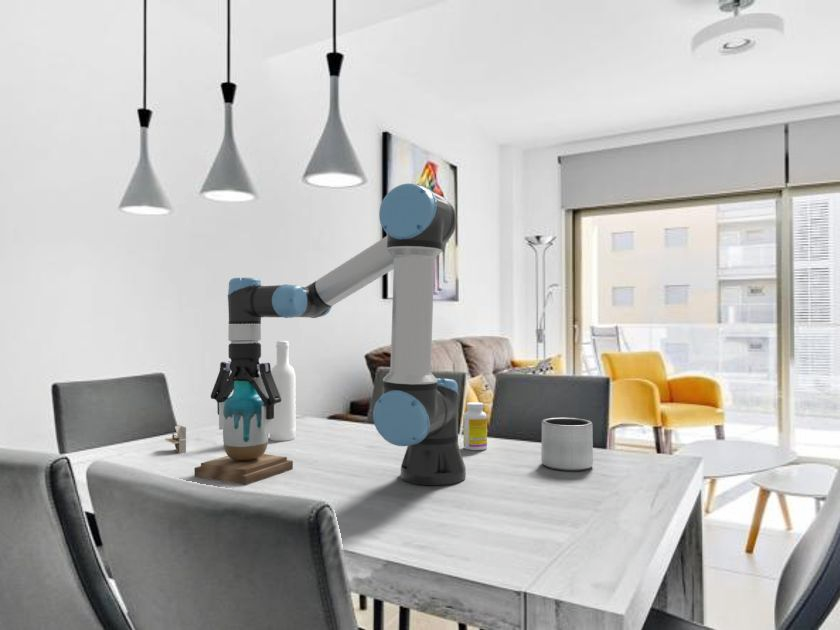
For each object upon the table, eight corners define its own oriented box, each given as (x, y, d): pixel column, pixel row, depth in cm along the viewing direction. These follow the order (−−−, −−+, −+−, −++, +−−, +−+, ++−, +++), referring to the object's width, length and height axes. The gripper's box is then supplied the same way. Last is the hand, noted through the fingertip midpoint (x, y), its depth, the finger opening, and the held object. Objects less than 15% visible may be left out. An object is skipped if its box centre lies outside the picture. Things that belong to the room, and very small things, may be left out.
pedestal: (292, 468, 148) (292, 456, 148) (245, 485, 133) (245, 471, 133) (243, 461, 155) (243, 450, 155) (194, 476, 141) (194, 463, 141)
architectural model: (173, 456, 164) (173, 428, 164) (164, 451, 169) (164, 425, 169) (186, 454, 166) (186, 427, 166) (177, 450, 171) (177, 424, 171)
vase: (255, 466, 138) (254, 382, 138) (213, 463, 140) (213, 381, 141) (276, 455, 148) (276, 378, 148) (237, 453, 151) (237, 377, 151)
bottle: (287, 441, 180) (287, 341, 180) (264, 440, 182) (264, 341, 182) (300, 436, 188) (300, 340, 188) (277, 435, 190) (277, 340, 190)
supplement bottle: (491, 449, 170) (491, 403, 170) (473, 452, 166) (473, 405, 166) (476, 445, 175) (476, 401, 175) (458, 447, 171) (458, 402, 171)
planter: (570, 458, 159) (570, 415, 159) (604, 468, 148) (603, 423, 148) (531, 463, 153) (531, 419, 154) (563, 474, 142) (562, 427, 142)
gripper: (296, 342, 142) (296, 432, 142) (218, 341, 154) (219, 424, 153) (274, 343, 135) (274, 438, 135) (195, 342, 147) (195, 429, 147)
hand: (245, 431), depth 144 cm, fingers open, 13 cm apart
